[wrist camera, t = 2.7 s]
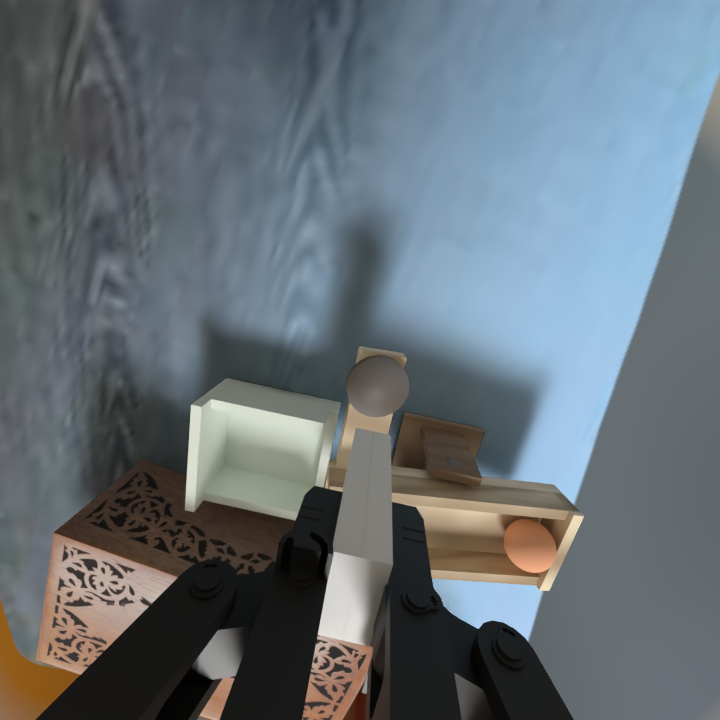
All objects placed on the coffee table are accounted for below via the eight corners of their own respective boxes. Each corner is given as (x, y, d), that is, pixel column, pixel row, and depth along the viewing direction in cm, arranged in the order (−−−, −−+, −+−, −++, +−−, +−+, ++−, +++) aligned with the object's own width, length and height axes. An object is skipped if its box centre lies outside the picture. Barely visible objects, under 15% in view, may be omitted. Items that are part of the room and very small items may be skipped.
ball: (502, 507, 27) (532, 545, 23) (541, 509, 27) (575, 545, 24) (488, 544, 28) (515, 585, 24) (526, 544, 28) (557, 584, 25)
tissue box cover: (383, 546, 36) (382, 650, 26) (336, 639, 40) (320, 758, 31) (144, 457, 35) (53, 532, 26) (121, 562, 39) (36, 660, 30)
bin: (226, 377, 32) (191, 404, 26) (341, 402, 31) (331, 434, 26) (218, 467, 34) (184, 510, 29) (323, 491, 34) (310, 538, 29)
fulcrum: (404, 411, 31) (409, 455, 24) (482, 428, 31) (508, 477, 24) (380, 507, 34) (378, 569, 27) (450, 522, 34) (466, 589, 27)
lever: (351, 344, 23) (355, 361, 19) (596, 385, 25) (635, 405, 22) (313, 536, 27) (312, 575, 24) (524, 553, 30) (549, 590, 27)
